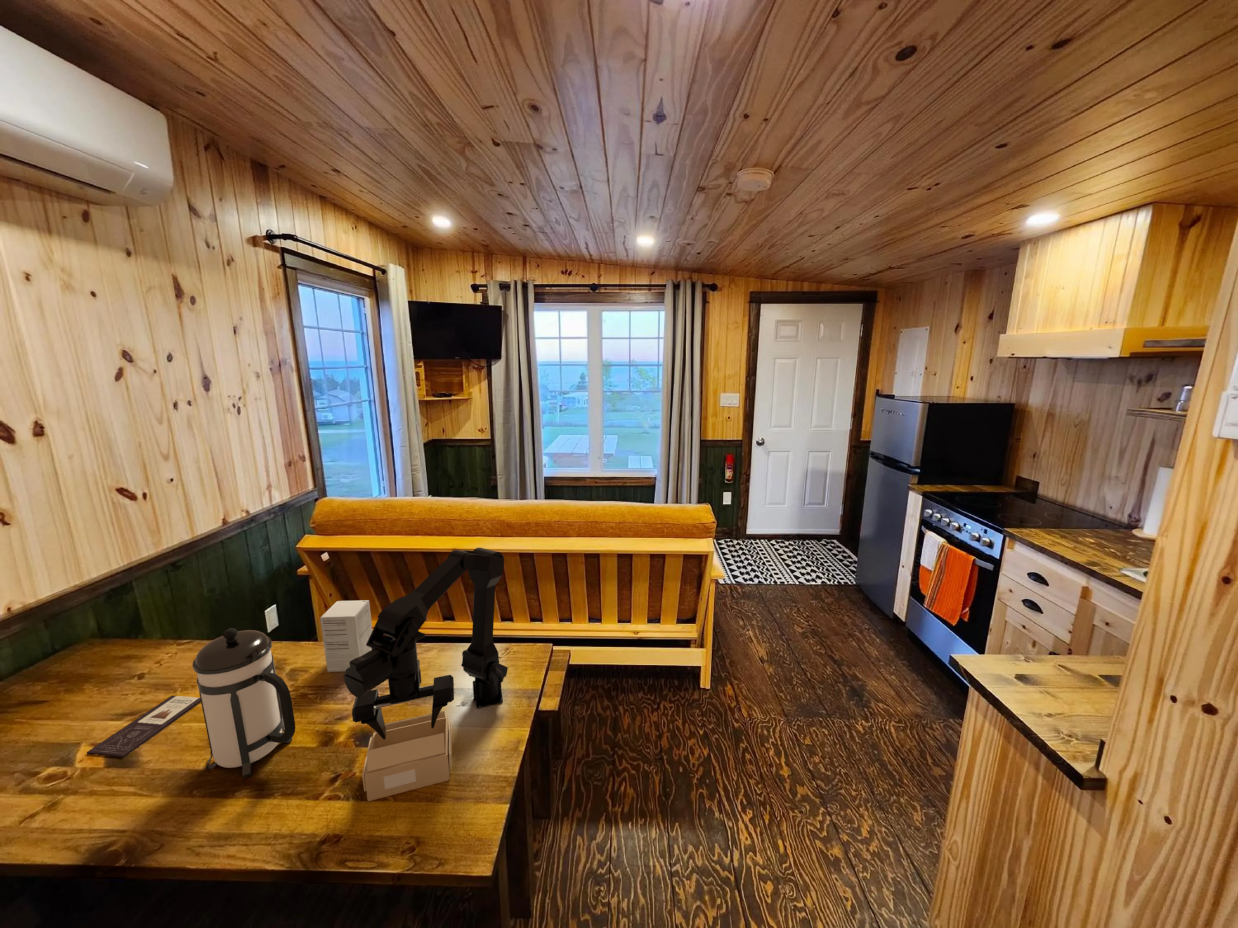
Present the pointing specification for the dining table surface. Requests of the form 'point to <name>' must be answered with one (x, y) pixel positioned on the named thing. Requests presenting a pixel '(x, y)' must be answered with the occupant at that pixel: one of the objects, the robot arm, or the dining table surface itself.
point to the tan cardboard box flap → (412, 721)
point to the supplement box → (346, 633)
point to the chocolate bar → (145, 726)
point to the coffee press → (242, 699)
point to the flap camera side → (405, 751)
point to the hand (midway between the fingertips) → (409, 732)
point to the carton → (412, 771)
